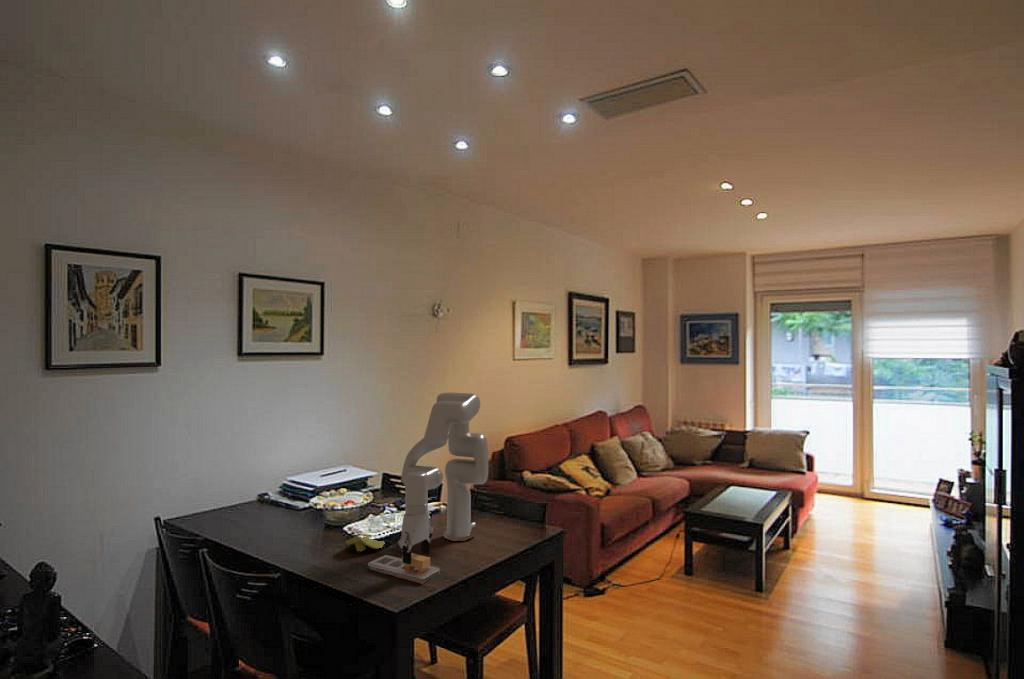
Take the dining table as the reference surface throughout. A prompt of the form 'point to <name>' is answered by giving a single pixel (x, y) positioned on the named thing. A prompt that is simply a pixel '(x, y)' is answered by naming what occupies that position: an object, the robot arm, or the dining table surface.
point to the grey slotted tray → (400, 567)
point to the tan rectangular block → (418, 563)
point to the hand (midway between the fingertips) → (416, 558)
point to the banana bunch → (365, 542)
